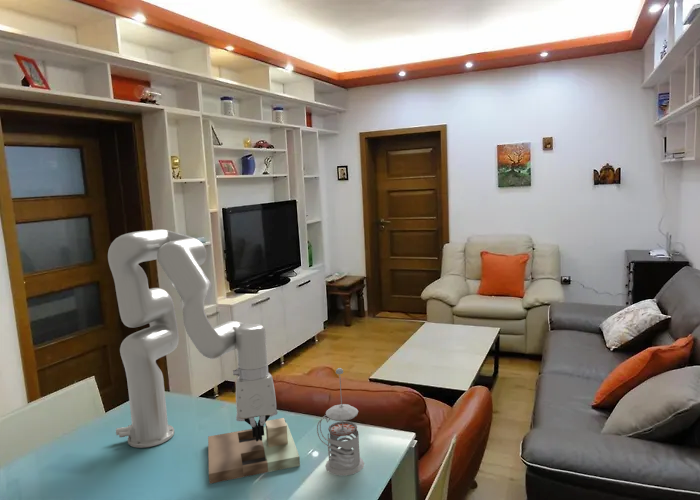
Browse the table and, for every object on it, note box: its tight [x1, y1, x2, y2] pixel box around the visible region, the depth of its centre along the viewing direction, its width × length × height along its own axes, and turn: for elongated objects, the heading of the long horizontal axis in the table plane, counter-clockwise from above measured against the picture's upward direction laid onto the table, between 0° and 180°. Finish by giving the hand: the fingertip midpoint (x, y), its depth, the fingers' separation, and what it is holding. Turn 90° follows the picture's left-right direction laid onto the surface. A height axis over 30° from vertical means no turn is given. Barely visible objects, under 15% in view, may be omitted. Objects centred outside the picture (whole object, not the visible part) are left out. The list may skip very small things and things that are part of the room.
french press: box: [316, 367, 365, 476], centre depth 125 cm, size 10×12×25 cm
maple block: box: [265, 417, 288, 447], centre depth 135 cm, size 5×5×5 cm
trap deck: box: [207, 422, 301, 485], centre depth 133 cm, size 22×20×2 cm
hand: (258, 438), depth 133 cm, fingers closed
